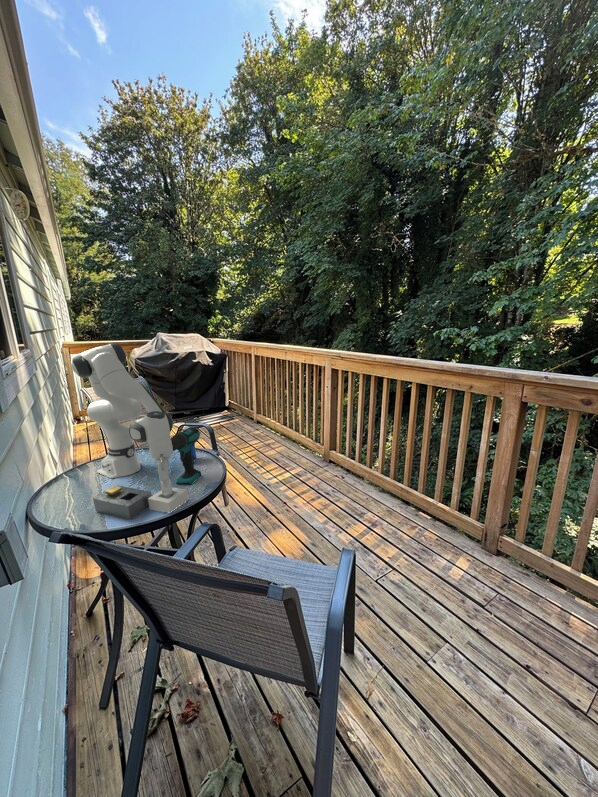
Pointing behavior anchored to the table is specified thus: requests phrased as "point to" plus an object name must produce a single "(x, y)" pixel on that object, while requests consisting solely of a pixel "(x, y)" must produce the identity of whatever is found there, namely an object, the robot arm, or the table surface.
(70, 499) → the table surface
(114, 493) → the wooden tenon block
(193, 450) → the blue upright block
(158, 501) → the cream square open frame
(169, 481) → the metal cylinder
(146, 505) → the socket block
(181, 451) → the power drill
